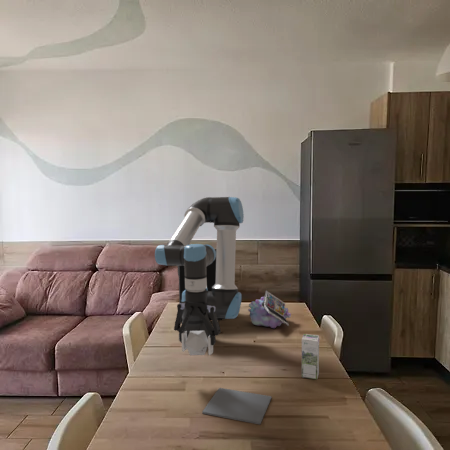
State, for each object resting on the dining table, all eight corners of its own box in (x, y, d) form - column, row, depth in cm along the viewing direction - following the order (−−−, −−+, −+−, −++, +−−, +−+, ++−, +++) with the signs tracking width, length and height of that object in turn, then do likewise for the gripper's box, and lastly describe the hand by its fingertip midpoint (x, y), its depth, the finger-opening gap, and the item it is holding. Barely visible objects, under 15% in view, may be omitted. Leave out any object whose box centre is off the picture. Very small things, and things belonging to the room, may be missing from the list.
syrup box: (319, 372, 143) (319, 334, 141) (317, 380, 137) (317, 340, 136) (303, 370, 144) (303, 332, 143) (301, 378, 139) (301, 338, 138)
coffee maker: (227, 308, 222) (227, 247, 219) (234, 319, 203) (234, 253, 200) (178, 311, 217) (177, 249, 214) (180, 323, 198) (179, 255, 195)
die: (200, 363, 130) (214, 337, 133) (178, 349, 131) (193, 324, 134) (201, 360, 138) (215, 336, 140) (180, 348, 139) (194, 324, 141)
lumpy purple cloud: (256, 305, 211) (250, 281, 201) (296, 307, 203) (291, 282, 193) (247, 335, 196) (240, 311, 186) (290, 339, 188) (285, 314, 178)
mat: (202, 413, 117) (202, 411, 117) (219, 389, 132) (219, 387, 132) (260, 424, 112) (260, 422, 111) (271, 398, 126) (271, 396, 126)
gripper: (162, 289, 134) (164, 352, 136) (222, 294, 127) (223, 360, 129) (172, 284, 141) (174, 343, 143) (229, 288, 134) (230, 351, 136)
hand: (197, 351), depth 136 cm, fingers closed on die, 9 cm apart
